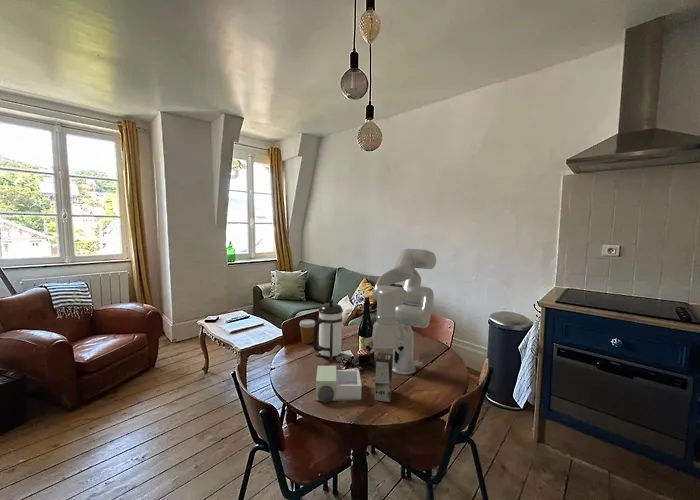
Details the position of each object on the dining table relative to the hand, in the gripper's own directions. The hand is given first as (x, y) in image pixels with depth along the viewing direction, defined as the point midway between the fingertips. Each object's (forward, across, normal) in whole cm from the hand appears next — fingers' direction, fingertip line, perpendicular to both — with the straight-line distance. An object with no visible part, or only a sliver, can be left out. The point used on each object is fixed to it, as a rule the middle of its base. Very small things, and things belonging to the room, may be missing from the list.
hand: (384, 361), depth 124 cm
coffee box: (+15, 0, -1) cm, 15 cm away
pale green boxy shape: (+15, +18, -4) cm, 24 cm away
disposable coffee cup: (+14, +36, -58) cm, 69 cm away
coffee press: (+14, +22, -38) cm, 46 cm away
